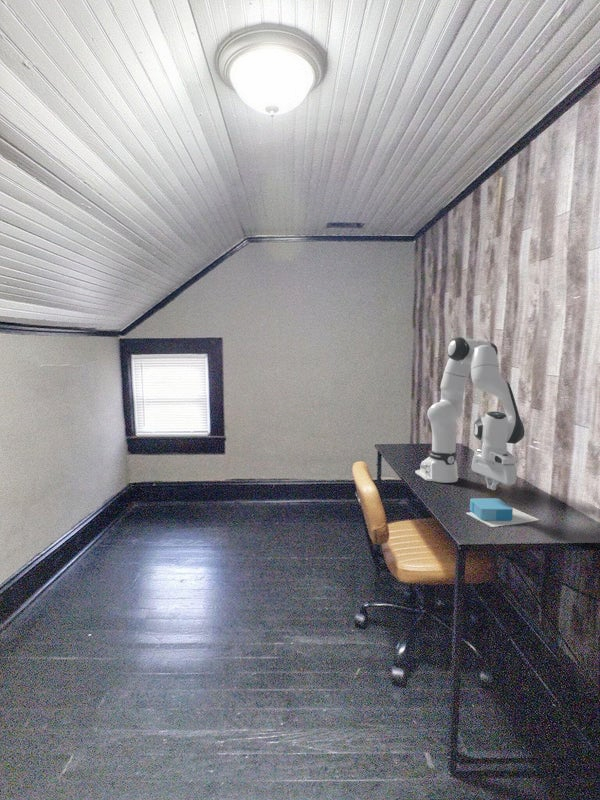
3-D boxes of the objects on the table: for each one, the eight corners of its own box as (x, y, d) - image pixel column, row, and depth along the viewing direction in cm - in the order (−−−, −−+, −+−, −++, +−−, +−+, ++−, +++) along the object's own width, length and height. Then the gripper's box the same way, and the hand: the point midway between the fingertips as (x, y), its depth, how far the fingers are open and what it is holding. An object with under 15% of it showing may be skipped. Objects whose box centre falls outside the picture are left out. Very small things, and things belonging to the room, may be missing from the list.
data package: (468, 509, 169) (481, 520, 157) (468, 498, 169) (482, 509, 157) (497, 509, 170) (513, 520, 158) (498, 498, 169) (514, 509, 157)
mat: (465, 513, 165) (465, 512, 165) (510, 507, 172) (510, 506, 172) (492, 527, 152) (492, 526, 152) (539, 520, 159) (539, 519, 159)
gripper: (468, 448, 172) (466, 481, 174) (507, 461, 153) (504, 498, 155) (481, 447, 174) (479, 480, 176) (521, 460, 155) (518, 496, 157)
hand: (491, 488), depth 165 cm, fingers closed
